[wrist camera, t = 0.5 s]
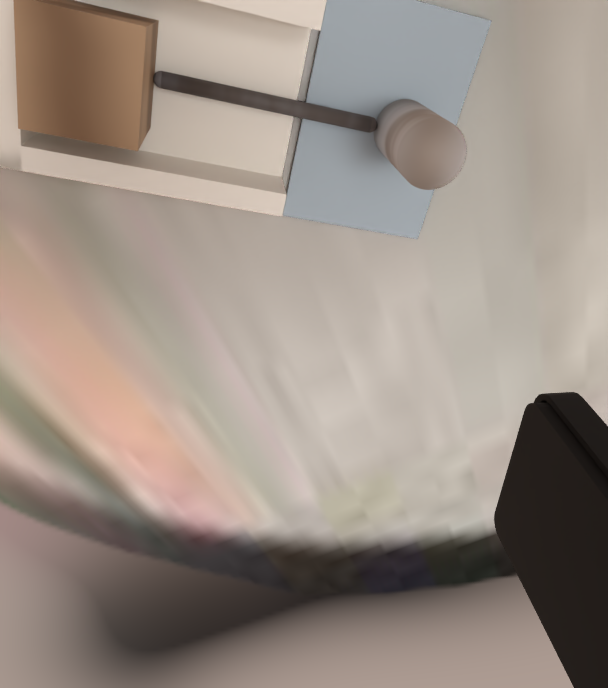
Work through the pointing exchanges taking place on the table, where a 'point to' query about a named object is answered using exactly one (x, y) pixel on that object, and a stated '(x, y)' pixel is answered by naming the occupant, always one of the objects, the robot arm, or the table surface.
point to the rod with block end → (179, 90)
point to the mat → (377, 107)
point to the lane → (187, 105)
